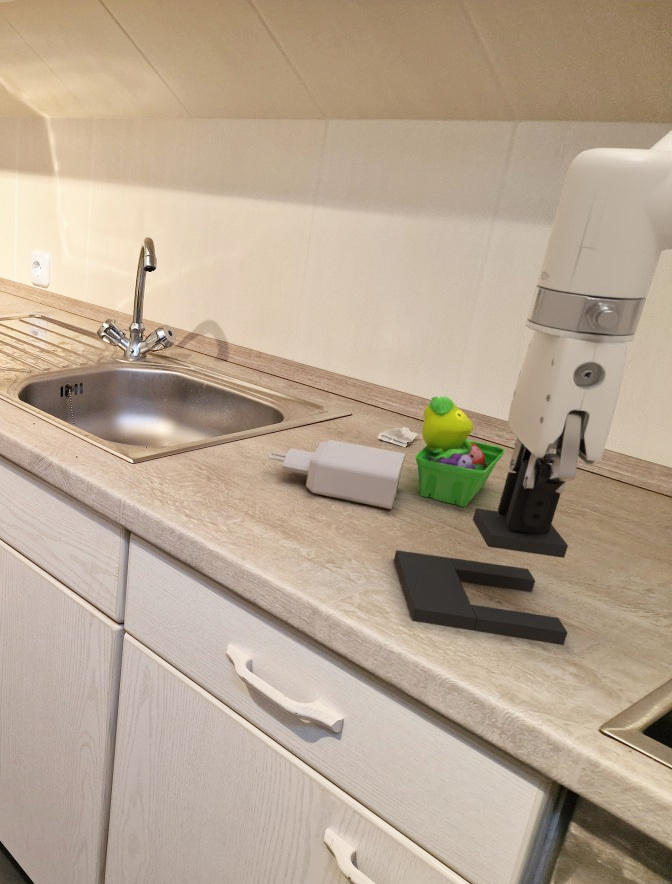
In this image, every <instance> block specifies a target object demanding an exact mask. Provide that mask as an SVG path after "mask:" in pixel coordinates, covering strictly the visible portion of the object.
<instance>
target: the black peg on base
mask: <svg viewBox="0 0 672 884" xmlns="http://www.w3.org/2000/svg"><path fill="white" fill-rule="evenodd" d="M528 463H529V460H523V461H522V464H521V467H520V471H519V474H518V478H517V481H516V485H515V488H514V492H513V495H512V499H511V503H510V506H509V510H508V513H507V517H506V516H501V515H500V514H499V512H498V510H490V509H485V508H484V509H483V508H475V510H474V512H473V513H474V514H473V517H472V521H473V524H474V525H475V526H476V527H475V528H477V530H478V532H479V534H480V535H481V538H482V539H483V541H484V542H485V544H486V547H488V548H493V549H500V550H501V549H502V550H507V551H513V552H514V551H515V552H521V553H528V554H534V555H541V556H549V557H553V558H554V557H555V558H560V559H561V558H563V559H564V558H565V557H566V555H567V554H566V553H567V551H568V547H569V544H567V542H566V541H565V540H564V538H563V537H562V535H561V534H560V533H559V532H558V531H557V529H556V528H555V527H554V525H553V523H552V524H551V527H550V530H549V532H548V533H547V534H545V535H541V534H534V533H527V532H520V531H513V530H510V529H509V528H508V526H507V521H508V518H509V514H510V511H511V507H512V504H513V500H514V497H515V493H516V490H517V486H518V485H523V482H524V478H525V474H526V471H527V467H528ZM544 465H546V466H551V465H552V464H551V463H550V464H548V463H544V462H541V464H540V468H539V470H540V469H541V468H542V467H543V466H544Z"/></svg>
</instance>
